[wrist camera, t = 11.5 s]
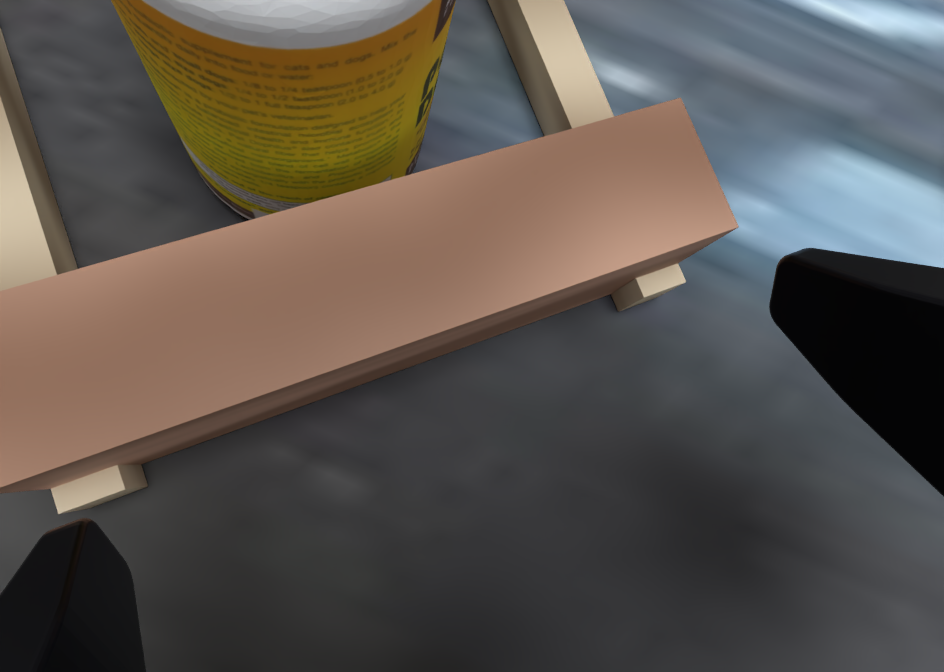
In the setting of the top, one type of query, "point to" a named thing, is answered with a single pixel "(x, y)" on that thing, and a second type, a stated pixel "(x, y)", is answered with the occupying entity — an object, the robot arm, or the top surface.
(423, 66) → the supplement bottle
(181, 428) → the rail track
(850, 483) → the top surface
